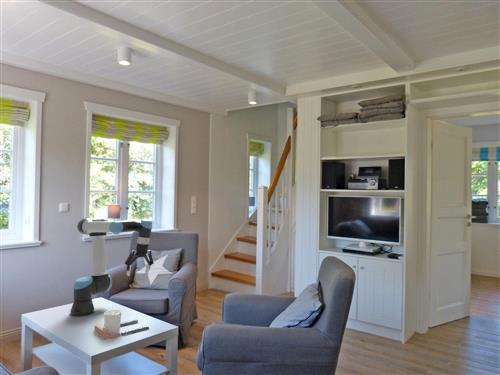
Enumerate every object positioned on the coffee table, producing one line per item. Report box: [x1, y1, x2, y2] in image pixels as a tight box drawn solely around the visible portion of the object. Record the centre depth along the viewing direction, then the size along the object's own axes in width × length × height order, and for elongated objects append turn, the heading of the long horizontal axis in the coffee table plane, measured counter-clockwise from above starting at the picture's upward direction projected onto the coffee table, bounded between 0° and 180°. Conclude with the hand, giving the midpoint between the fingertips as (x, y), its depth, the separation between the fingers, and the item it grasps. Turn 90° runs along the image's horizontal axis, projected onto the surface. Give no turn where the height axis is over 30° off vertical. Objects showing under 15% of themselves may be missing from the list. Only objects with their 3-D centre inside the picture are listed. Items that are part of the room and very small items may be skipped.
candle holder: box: [103, 309, 122, 335], centre depth 222 cm, size 10×10×12 cm
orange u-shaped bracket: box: [93, 324, 122, 341], centre depth 220 cm, size 16×9×4 cm, turn 43°
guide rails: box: [120, 319, 150, 336], centre depth 229 cm, size 16×17×2 cm
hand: (137, 274), depth 246 cm, fingers open, 13 cm apart
